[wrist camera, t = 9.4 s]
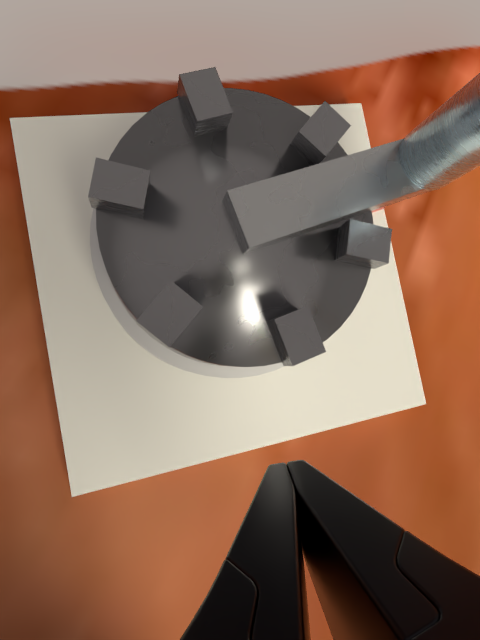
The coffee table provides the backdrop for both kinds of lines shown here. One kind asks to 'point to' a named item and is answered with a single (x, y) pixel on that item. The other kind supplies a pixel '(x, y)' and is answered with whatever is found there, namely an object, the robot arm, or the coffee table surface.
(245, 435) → the mounting plate
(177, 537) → the coffee table surface
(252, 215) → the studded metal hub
